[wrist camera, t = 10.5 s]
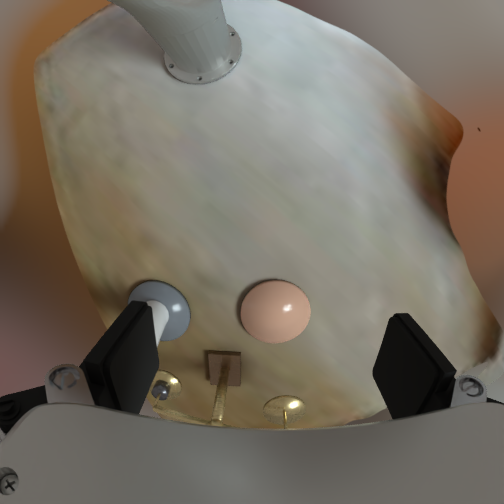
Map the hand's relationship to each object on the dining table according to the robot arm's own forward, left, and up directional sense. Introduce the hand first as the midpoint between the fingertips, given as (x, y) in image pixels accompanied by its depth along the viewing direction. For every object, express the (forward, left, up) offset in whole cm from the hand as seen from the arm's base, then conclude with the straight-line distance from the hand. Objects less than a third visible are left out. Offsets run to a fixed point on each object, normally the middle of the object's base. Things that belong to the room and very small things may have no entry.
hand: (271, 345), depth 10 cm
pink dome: (+17, +3, -35) cm, 40 cm away
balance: (+30, -6, -35) cm, 47 cm away
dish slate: (+18, -18, -35) cm, 44 cm away
